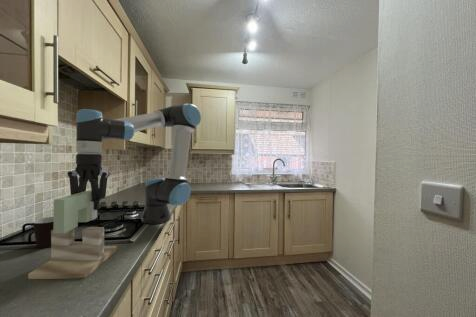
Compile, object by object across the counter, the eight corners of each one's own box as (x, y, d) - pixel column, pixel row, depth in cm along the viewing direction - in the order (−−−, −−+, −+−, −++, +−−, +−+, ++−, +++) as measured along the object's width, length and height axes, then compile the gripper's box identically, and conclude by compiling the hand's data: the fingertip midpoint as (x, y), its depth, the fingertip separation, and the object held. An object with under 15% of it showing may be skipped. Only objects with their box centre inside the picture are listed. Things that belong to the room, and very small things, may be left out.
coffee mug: (44, 250, 79) (44, 224, 79) (26, 248, 81) (26, 222, 81) (74, 238, 90) (74, 215, 90) (58, 236, 92) (58, 213, 92)
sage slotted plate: (64, 233, 63) (64, 199, 62) (53, 233, 62) (53, 199, 62) (96, 217, 78) (97, 190, 78) (88, 217, 78) (88, 190, 78)
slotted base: (72, 250, 79) (72, 220, 79) (116, 250, 80) (116, 220, 80) (28, 279, 61) (28, 239, 61) (85, 278, 62) (85, 239, 62)
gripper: (57, 152, 71) (56, 221, 72) (106, 153, 72) (105, 222, 73) (73, 153, 79) (72, 215, 79) (117, 154, 80) (116, 215, 80)
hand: (88, 218), depth 76 cm, fingers closed on sage slotted plate, 3 cm apart
